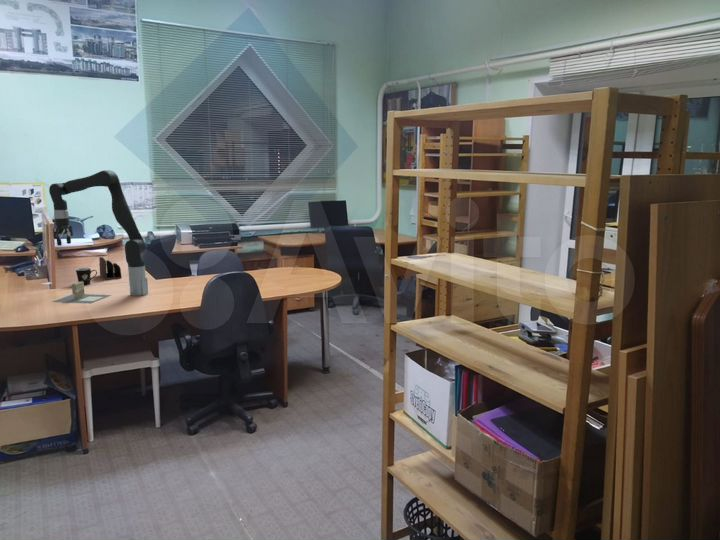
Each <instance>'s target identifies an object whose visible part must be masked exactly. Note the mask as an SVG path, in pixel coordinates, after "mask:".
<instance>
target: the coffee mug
mask: <svg viewBox="0 0 720 540" xmlns="http://www.w3.org/2000/svg"><path fill="white" fill-rule="evenodd" d="M75 272H76V276H77V277H76V278H77V282H84V286H89V285H91V280H92V279H94V278H95V277H96V276H97V275H98V271H97V270H95V269H92V270H91V268H90V267H82V268H76V269H75ZM92 272H95V275H93V276H92V277H91V274H92Z"/></svg>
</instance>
